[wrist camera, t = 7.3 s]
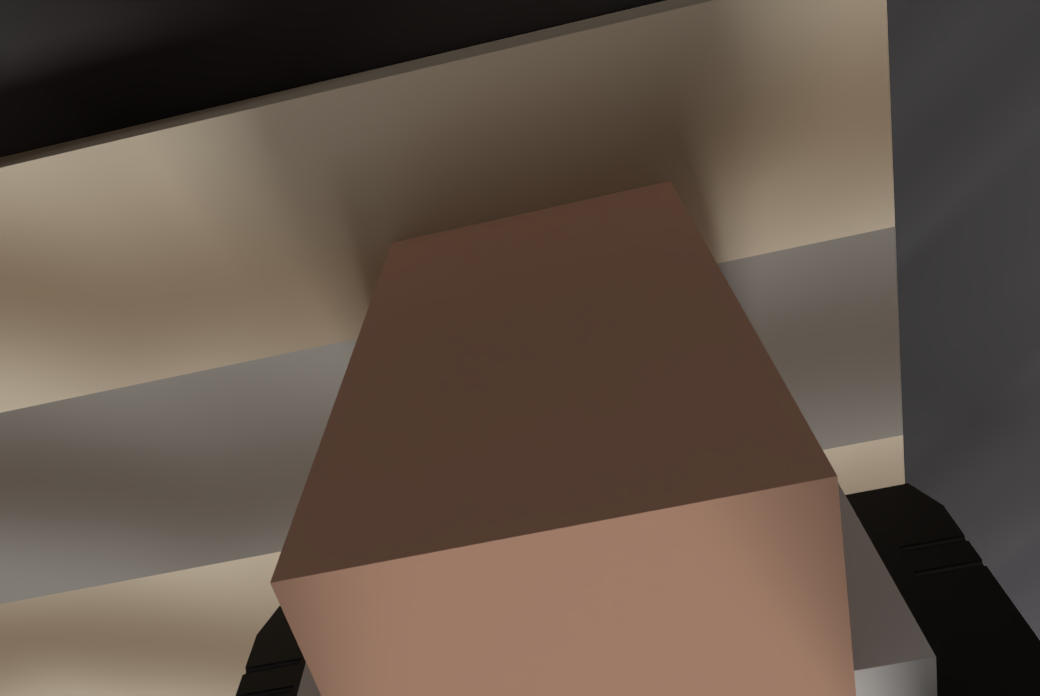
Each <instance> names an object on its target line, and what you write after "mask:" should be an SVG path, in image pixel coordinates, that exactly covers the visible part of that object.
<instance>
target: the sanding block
mask: <svg viewBox="0 0 1040 696" xmlns="http://www.w3.org/2000/svg"><path fill="white" fill-rule="evenodd" d="M270 584H271V586H272V588H273V591H274V593H275V595H276V597H277V599H278V602H279V604H280V606H281V608H282V610H283V613H284V615H285V617H286V619H287V621H288V624H289V626H290V628H291V630H292V632H293V635H294V637H295V639H296V641H297V643H298V645H299V648H300V650H301V652H302V654H303V656H304V659H305V661H306V663H307V665H308V667H309V670H310V672H311V674H312V676H313V678H314V681H315V683H316V685H317V687H318V689H319V692H320V694H321V696H856V687H855V676H854V664H853V652H852V640H851V629H850V617H849V605H848V593H847V582H846V570H845V558H844V546H843V535H842V523H841V511H840V500H839V488H838V476H837V474H836V473H835V471H834V469H833V467H832V465H831V464H830V462H829V460H828V458H827V457H826V455H825V453H824V451H823V450H822V448H821V446H820V444H819V443H818V441H817V439H816V437H815V435H814V434H813V432H812V430H811V428H810V427H809V425H808V423H807V421H806V420H805V418H804V416H803V414H802V413H801V411H800V409H799V407H798V405H797V404H796V402H795V400H794V398H793V397H792V395H791V393H790V391H789V390H788V388H787V386H786V384H785V383H784V381H783V379H782V377H781V375H780V374H779V372H778V370H777V368H776V367H775V365H774V363H773V361H772V360H771V358H770V356H769V354H768V353H767V351H766V349H765V347H764V345H763V344H762V342H761V340H760V338H759V337H758V335H757V333H756V331H755V330H754V328H753V326H752V324H751V323H750V321H749V319H748V317H747V315H746V314H745V312H744V310H743V308H742V307H741V305H740V303H739V301H738V300H737V298H736V296H735V294H734V293H733V291H732V289H731V287H730V285H729V284H728V282H727V280H726V278H725V277H724V275H723V273H722V271H721V270H720V268H719V266H718V264H717V263H716V261H715V259H714V257H713V255H712V254H711V252H710V250H709V248H708V247H707V245H706V243H705V241H704V240H703V238H702V236H701V234H700V233H699V231H698V229H697V227H696V225H695V224H694V222H693V220H692V218H691V217H690V215H689V213H688V211H687V210H686V208H685V206H684V204H683V203H682V201H681V199H680V197H679V195H678V194H677V192H676V190H675V188H674V187H673V185H672V183H671V181H667V182H662V183H658V184H653V185H649V186H644V187H640V188H635V189H631V190H626V191H622V192H617V193H613V194H609V195H604V196H600V197H595V198H591V199H586V200H582V201H577V202H573V203H568V204H564V205H559V206H555V207H550V208H546V209H541V210H537V211H532V212H528V213H523V214H519V215H514V216H510V217H505V218H501V219H496V220H492V221H487V222H483V223H478V224H474V225H469V226H465V227H460V228H456V229H451V230H447V231H442V232H438V233H434V234H429V235H425V236H420V237H416V238H411V239H407V240H402V241H398V242H393V243H391V246H390V249H389V252H388V255H387V257H386V260H385V263H384V266H383V269H382V271H381V274H380V277H379V280H378V283H377V285H376V288H375V291H374V294H373V297H372V299H371V302H370V305H369V308H368V310H367V313H366V316H365V319H364V322H363V324H362V327H361V330H360V333H359V336H358V338H357V341H356V344H355V347H354V350H353V352H352V355H351V358H350V361H349V364H348V366H347V369H346V372H345V375H344V378H343V380H342V383H341V386H340V389H339V392H338V394H337V397H336V400H335V403H334V406H333V408H332V411H331V414H330V417H329V419H328V422H327V425H326V428H325V431H324V433H323V436H322V439H321V442H320V445H319V447H318V450H317V453H316V456H315V459H314V461H313V464H312V467H311V470H310V473H309V475H308V478H307V481H306V484H305V487H304V489H303V492H302V495H301V498H300V501H299V503H298V506H297V509H296V512H295V514H294V517H293V520H292V523H291V526H290V528H289V531H288V534H287V537H286V540H285V542H284V545H283V548H282V551H281V554H280V556H279V559H278V562H277V565H276V568H275V570H274V573H273V576H272V579H271V582H270Z"/></svg>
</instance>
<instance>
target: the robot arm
mask: <svg viewBox="0 0 1040 696" xmlns="http://www.w3.org/2000/svg"><path fill="white" fill-rule="evenodd" d="M838 488H839V500H840V511H841V523H842V535H843V546H844V558H845V570H846V582H847V593H848V605H849V617H850V629H851V640H852V652H853V664H854V676H855V687H856V696H1040V640H1039V639H1038V638H1037V636H1036V635H1035V633H1034V632H1033V631H1032V629H1031V628H1030V626H1029V625H1028V624H1027V622H1026V621H1025V619H1024V618H1023V617H1022V615H1021V614H1020V612H1019V611H1018V610H1017V608H1016V607H1015V605H1014V604H1013V603H1012V601H1011V600H1010V598H1009V597H1008V596H1007V594H1006V593H1005V591H1004V590H1003V589H1002V587H1001V586H1000V584H999V583H998V582H997V580H996V579H995V577H994V576H993V575H992V573H991V572H990V570H989V569H988V568H987V566H984V565H983V563H982V559H981V558H980V556H979V555H978V554H977V552H976V551H975V549H974V548H973V547H972V545H971V544H970V542H969V541H966V540H965V537H964V534H963V533H962V531H961V530H960V528H959V527H958V526H957V524H956V523H955V521H954V520H953V519H952V517H951V516H950V514H949V513H948V512H947V510H946V509H945V507H944V506H943V505H942V504H940V503H938V502H937V501H935V500H934V499H932V498H931V497H929V496H927V495H926V494H924V493H923V492H921V491H919V490H918V489H916V488H915V487H913V486H911V485H910V484H908V483H907V484H901V485H896V486H891V487H885V488H880V489H874V490H869V491H864V492H858V493H853V494H848V495H845V494H844V492H843V490H842V488H841V487H840V485H839V483H838ZM245 669H246V674H243V675H242V678H241V681H240V684H239V687H238V690H237V693H236V696H321V694H320V692H319V689H318V687H317V685H316V683H315V681H314V678H313V676H312V674H311V672H310V670H309V667H308V665H307V663H306V661H305V659H304V656H303V654H302V652H301V650H300V648H299V645H298V643H297V641H296V639H295V637H294V635H293V632H292V630H291V628H290V626H289V624H288V621H287V619H286V617H285V615H284V613H283V610H282V608H281V606H279V607H278V608H277V610H276V611H275V612H274V613H273V615H272V616H271V617H270V619H269V620H268V621H267V622H266V624H265V625H264V626H263V627H262V629H261V630H260V631H259V632H258V634H257V635H256V638H255V641H254V644H253V647H252V650H251V652H250V655H249V658H248V661H247V664H246V667H245Z"/></svg>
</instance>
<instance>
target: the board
mask: <svg viewBox="0 0 1040 696" xmlns="http://www.w3.org/2000/svg"><path fill="white" fill-rule="evenodd" d="M667 181H671V183H672V185H673V187H674V188H675V190H676V192H677V194H678V195H679V197H680V199H681V201H682V203H683V204H684V206H685V208H686V210H687V211H688V213H689V215H690V217H691V218H692V220H693V222H694V224H695V225H696V227H697V229H698V231H699V233H700V234H701V236H702V238H703V240H704V241H705V243H706V245H707V247H708V248H709V250H710V252H711V254H712V255H713V257H714V259H715V261H716V263H717V264H718V266H719V268H720V270H721V271H722V273H723V275H724V277H725V278H726V280H727V282H728V284H729V285H730V287H731V289H732V291H733V293H734V294H735V296H736V298H737V300H738V301H739V303H740V305H741V307H742V308H743V310H744V312H745V314H746V315H747V317H748V319H749V321H750V323H751V324H752V326H753V328H754V330H755V331H756V333H757V335H758V337H759V338H760V340H761V342H762V344H763V345H764V347H765V349H766V351H767V353H768V354H769V356H770V358H771V360H772V361H773V363H774V365H775V367H776V368H777V370H778V372H779V374H780V375H781V377H782V379H783V381H784V383H785V384H786V386H787V388H788V390H789V391H790V393H791V395H792V397H793V398H794V400H795V402H796V404H797V405H798V407H799V409H800V411H801V413H802V414H803V416H804V418H805V420H806V421H807V423H808V425H809V427H810V428H811V430H812V432H813V434H814V435H815V437H816V439H817V441H818V443H819V444H820V446H821V448H822V450H823V451H824V453H825V455H826V457H827V458H828V460H829V462H830V464H831V465H832V467H833V469H834V471H835V473H836V474H837V476H838V483H839V485H840V487H841V488H842V490H843V492H844V494H845V495H848V494H853V493H858V492H864V491H869V490H874V489H880V488H885V487H891V486H896V485H901V484H905V475H904V448H903V422H902V396H901V369H900V343H899V316H898V290H897V263H896V237H895V211H894V184H893V158H892V131H891V105H890V78H889V52H888V26H887V0H666V1H661V2H657V3H653V4H649V5H644V6H640V7H636V8H632V9H627V10H623V11H619V12H615V13H610V14H606V15H602V16H598V17H593V18H589V19H585V20H581V21H577V22H572V23H568V24H564V25H560V26H555V27H551V28H547V29H543V30H538V31H534V32H530V33H526V34H521V35H517V36H513V37H509V38H504V39H500V40H496V41H492V42H488V43H483V44H479V45H475V46H471V47H466V48H462V49H458V50H454V51H449V52H445V53H441V54H437V55H432V56H428V57H424V58H420V59H415V60H411V61H407V62H403V63H399V64H394V65H390V66H386V67H382V68H377V69H373V70H369V71H365V72H360V73H356V74H352V75H348V76H343V77H339V78H335V79H331V80H327V81H322V82H318V83H314V84H310V85H305V86H301V87H297V88H293V89H288V90H284V91H280V92H276V93H271V94H267V95H263V96H259V97H254V98H250V99H246V100H242V101H238V102H233V103H229V104H225V105H221V106H216V107H212V108H208V109H204V110H199V111H195V112H191V113H187V114H182V115H178V116H174V117H170V118H165V119H161V120H157V121H153V122H149V123H144V124H140V125H136V126H132V127H127V128H123V129H119V130H115V131H110V132H106V133H102V134H98V135H93V136H89V137H85V138H81V139H76V140H72V141H68V142H64V143H60V144H55V145H51V146H47V147H43V148H38V149H34V150H30V151H26V152H21V153H17V154H13V155H9V156H4V157H0V696H236V693H237V690H238V687H239V684H240V681H241V678H242V675H243V674H246V669H245V667H246V664H247V661H248V658H249V655H250V652H251V650H252V647H253V644H254V641H255V638H256V635H257V634H258V632H259V631H260V630H261V629H262V627H263V626H264V625H265V624H266V622H267V621H268V620H269V619H270V617H271V616H272V615H273V613H274V612H275V611H276V610H277V608H278V607H279V606H280V604H279V602H278V599H277V597H276V595H275V593H274V591H273V588H272V586H271V584H270V582H271V579H272V576H273V573H274V570H275V568H276V565H277V562H278V559H279V556H280V554H281V551H282V548H283V545H284V542H285V540H286V537H287V534H288V531H289V528H290V526H291V523H292V520H293V517H294V514H295V512H296V509H297V506H298V503H299V501H300V498H301V495H302V492H303V489H304V487H305V484H306V481H307V478H308V475H309V473H310V470H311V467H312V464H313V461H314V459H315V456H316V453H317V450H318V447H319V445H320V442H321V439H322V436H323V433H324V431H325V428H326V425H327V422H328V419H329V417H330V414H331V411H332V408H333V406H334V403H335V400H336V397H337V394H338V392H339V389H340V386H341V383H342V380H343V378H344V375H345V372H346V369H347V366H348V364H349V361H350V358H351V355H352V352H353V350H354V347H355V344H356V341H357V338H358V336H359V333H360V330H361V327H362V324H363V322H364V319H365V316H366V313H367V310H368V308H369V305H370V302H371V299H372V297H373V294H374V291H375V288H376V285H377V283H378V280H379V277H380V274H381V271H382V269H383V266H384V263H385V260H386V257H387V255H388V252H389V249H390V246H391V243H393V242H398V241H402V240H407V239H411V238H416V237H420V236H425V235H429V234H434V233H438V232H442V231H447V230H451V229H456V228H460V227H465V226H469V225H474V224H478V223H483V222H487V221H492V220H496V219H501V218H505V217H510V216H514V215H519V214H523V213H528V212H532V211H537V210H541V209H546V208H550V207H555V206H559V205H564V204H568V203H573V202H577V201H582V200H586V199H591V198H595V197H600V196H604V195H609V194H613V193H617V192H622V191H626V190H631V189H635V188H640V187H644V186H649V185H653V184H658V183H662V182H667Z"/></svg>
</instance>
